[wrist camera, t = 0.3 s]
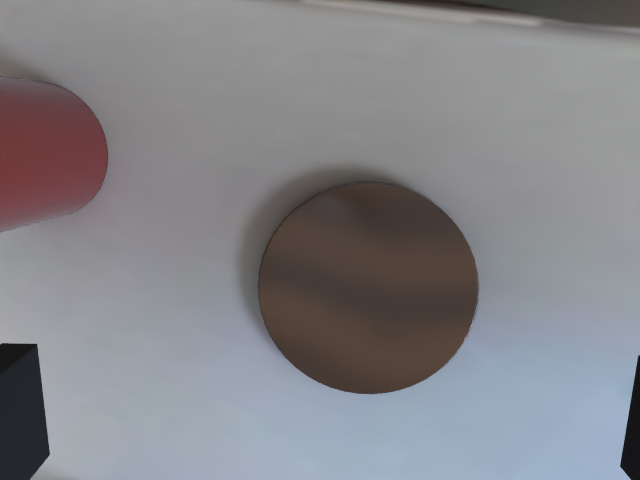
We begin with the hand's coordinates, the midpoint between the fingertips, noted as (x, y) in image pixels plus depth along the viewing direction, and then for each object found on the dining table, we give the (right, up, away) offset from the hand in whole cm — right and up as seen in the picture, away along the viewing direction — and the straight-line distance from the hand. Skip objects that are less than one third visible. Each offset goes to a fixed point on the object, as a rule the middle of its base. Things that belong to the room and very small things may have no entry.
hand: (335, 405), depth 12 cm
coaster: (+2, +1, +20) cm, 21 cm away
